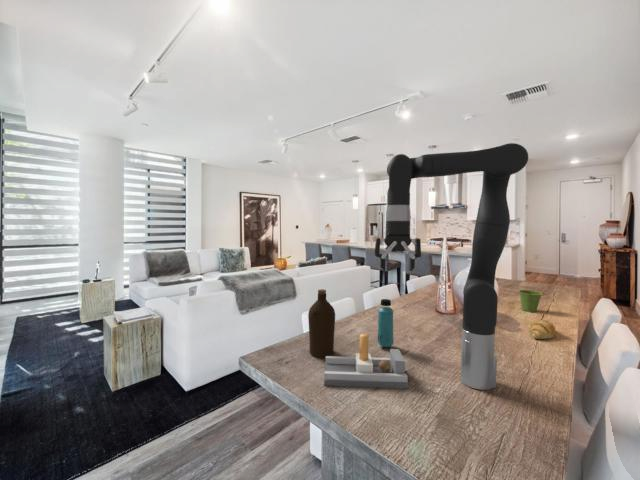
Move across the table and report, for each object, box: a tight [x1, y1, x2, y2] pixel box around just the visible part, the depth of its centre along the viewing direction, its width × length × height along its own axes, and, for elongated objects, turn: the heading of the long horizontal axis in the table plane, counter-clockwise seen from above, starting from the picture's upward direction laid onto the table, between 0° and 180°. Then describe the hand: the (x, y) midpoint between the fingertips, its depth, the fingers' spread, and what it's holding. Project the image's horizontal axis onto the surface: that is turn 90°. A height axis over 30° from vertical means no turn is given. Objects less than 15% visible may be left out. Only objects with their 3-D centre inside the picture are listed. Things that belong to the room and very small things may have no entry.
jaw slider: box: [355, 333, 373, 373], centre depth 99 cm, size 5×9×12 cm, turn 177°
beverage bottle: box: [377, 298, 395, 348], centre depth 123 cm, size 6×7×20 cm
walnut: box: [379, 360, 391, 373], centre depth 99 cm, size 4×4×4 cm
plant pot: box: [518, 289, 543, 313], centre depth 177 cm, size 12×12×11 cm
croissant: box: [528, 319, 556, 340], centre depth 138 cm, size 21×10×8 cm, turn 131°
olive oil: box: [307, 288, 336, 358], centre depth 117 cm, size 11×11×25 cm
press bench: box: [323, 348, 409, 389], centre depth 100 cm, size 26×14×8 cm, turn 87°
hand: (397, 270), depth 95 cm, fingers open, 8 cm apart
